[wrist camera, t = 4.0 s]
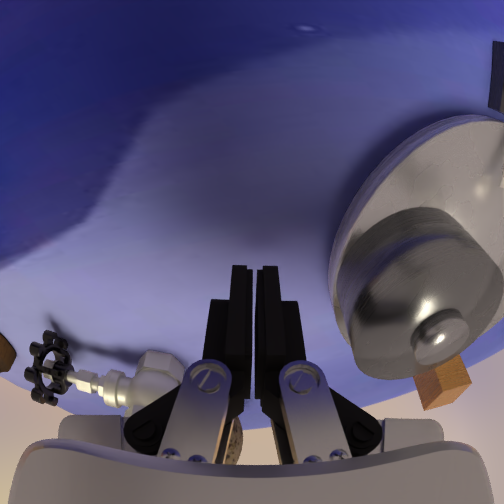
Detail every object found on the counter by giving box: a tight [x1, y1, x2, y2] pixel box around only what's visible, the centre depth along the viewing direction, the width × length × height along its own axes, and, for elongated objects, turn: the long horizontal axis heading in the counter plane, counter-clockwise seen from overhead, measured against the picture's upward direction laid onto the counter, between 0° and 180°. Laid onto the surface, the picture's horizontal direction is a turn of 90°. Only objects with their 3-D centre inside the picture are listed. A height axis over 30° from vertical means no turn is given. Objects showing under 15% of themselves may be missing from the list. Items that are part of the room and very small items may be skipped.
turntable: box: [328, 114, 504, 411], centre depth 11 cm, size 16×16×6 cm
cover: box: [336, 207, 504, 380], centre depth 11 cm, size 7×7×4 cm
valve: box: [24, 330, 185, 417], centre depth 19 cm, size 7×7×12 cm
